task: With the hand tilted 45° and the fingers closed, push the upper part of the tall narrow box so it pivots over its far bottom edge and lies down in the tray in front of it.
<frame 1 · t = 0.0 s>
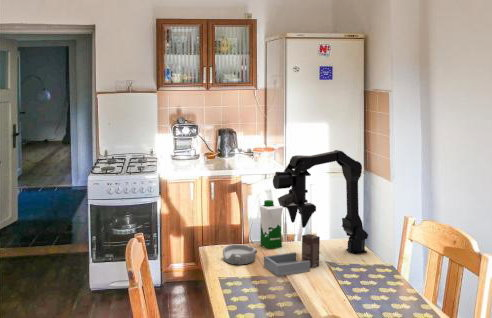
hand: (298, 224, 229), 15 cm above the table, tool pointing down, fingers open, 9 cm apart
milk carton: (271, 246, 251), on the table
box: (310, 265, 224), on the table
dish: (239, 260, 232), on the table
tray: (288, 268, 221), on the table
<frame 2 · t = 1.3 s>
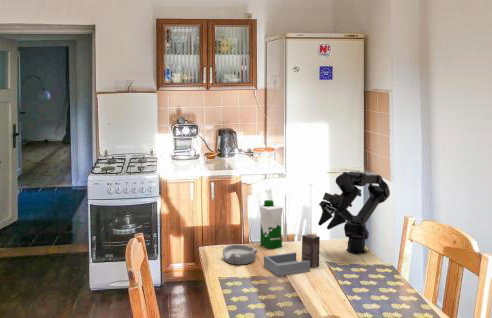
hand: (323, 226, 230), 14 cm above the table, tool tilted 45°, fingers open, 6 cm apart
nothing on the table moved.
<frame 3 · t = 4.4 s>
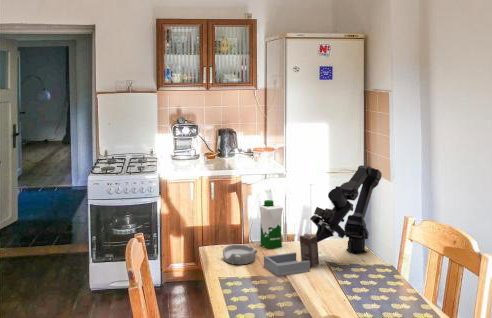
hand: (314, 242, 223), 9 cm above the table, tool tilted 45°, fingers closed
box: (310, 265, 224), on the table, touching gripper
everything else where it was.
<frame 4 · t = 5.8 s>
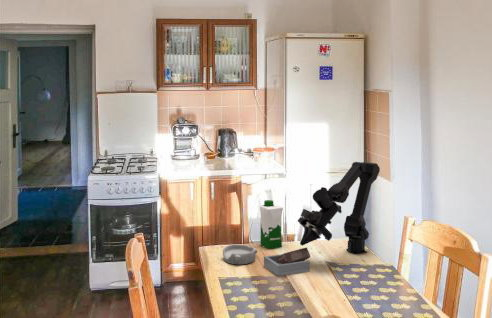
hand: (300, 244, 221), 9 cm above the table, tool tilted 45°, fingers closed
box: (304, 254, 224), point 4 cm above the table, touching tray
everything else where it was.
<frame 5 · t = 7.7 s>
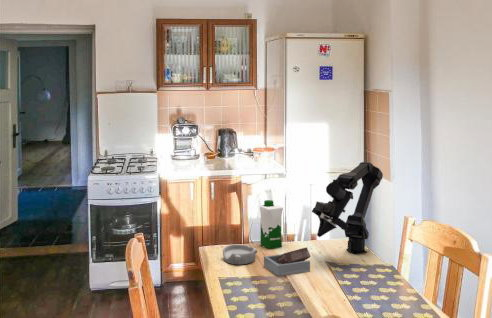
hand: (318, 236, 226), 11 cm above the table, tool tilted 35°, fingers closed
nothing on the table moved.
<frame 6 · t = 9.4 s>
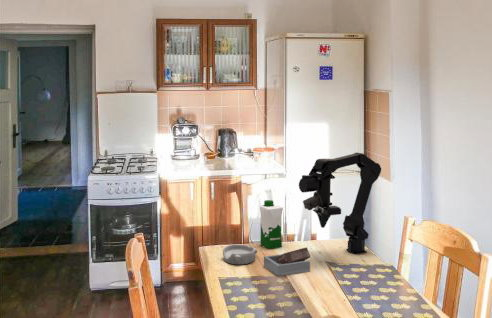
hand: (322, 227, 231), 13 cm above the table, tool pointing down, fingers closed
nothing on the table moved.
at the end: box inside the target area on the tray (2.5 cm from its centre), point 4.4 cm above the tray's base; box tilted 91°; box touching tray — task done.
